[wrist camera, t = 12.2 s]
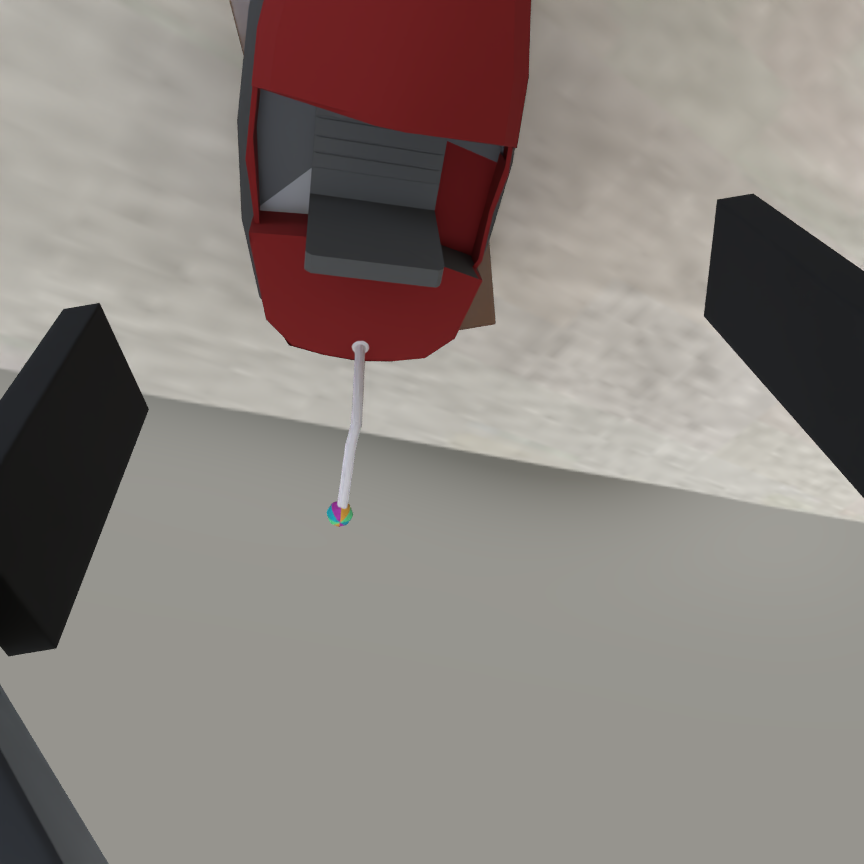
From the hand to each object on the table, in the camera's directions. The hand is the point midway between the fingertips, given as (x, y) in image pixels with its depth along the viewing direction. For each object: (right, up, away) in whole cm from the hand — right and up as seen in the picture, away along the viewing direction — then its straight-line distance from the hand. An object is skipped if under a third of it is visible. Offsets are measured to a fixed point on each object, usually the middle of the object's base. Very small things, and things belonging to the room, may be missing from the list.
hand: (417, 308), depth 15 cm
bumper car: (-2, +8, +12) cm, 14 cm away
